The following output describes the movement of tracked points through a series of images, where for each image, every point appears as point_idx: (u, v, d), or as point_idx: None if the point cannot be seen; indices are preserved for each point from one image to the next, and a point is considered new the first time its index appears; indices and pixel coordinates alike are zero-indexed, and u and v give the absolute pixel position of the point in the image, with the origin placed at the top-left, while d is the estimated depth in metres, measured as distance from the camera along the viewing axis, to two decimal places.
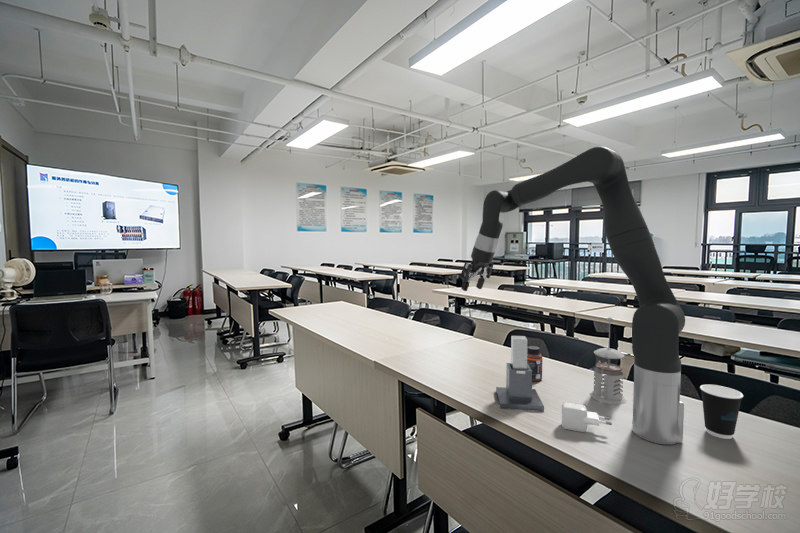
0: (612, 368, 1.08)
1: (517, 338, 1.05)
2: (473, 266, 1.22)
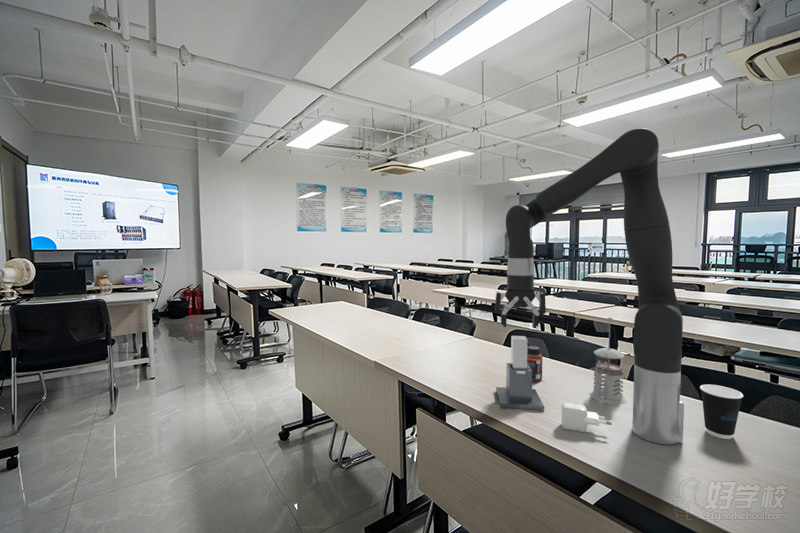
0: (612, 368, 1.08)
1: (517, 338, 1.05)
2: (506, 295, 1.05)
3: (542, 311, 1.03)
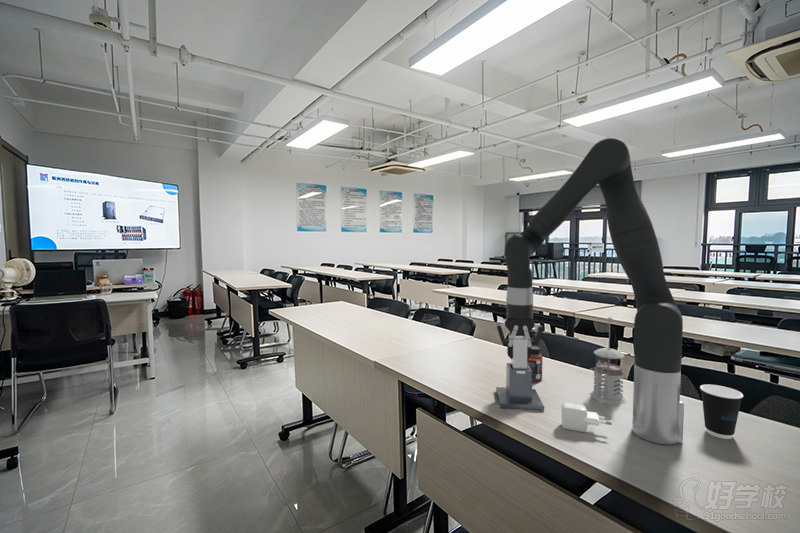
0: (612, 368, 1.08)
1: (517, 338, 1.05)
2: (506, 325, 1.05)
3: (534, 343, 1.04)
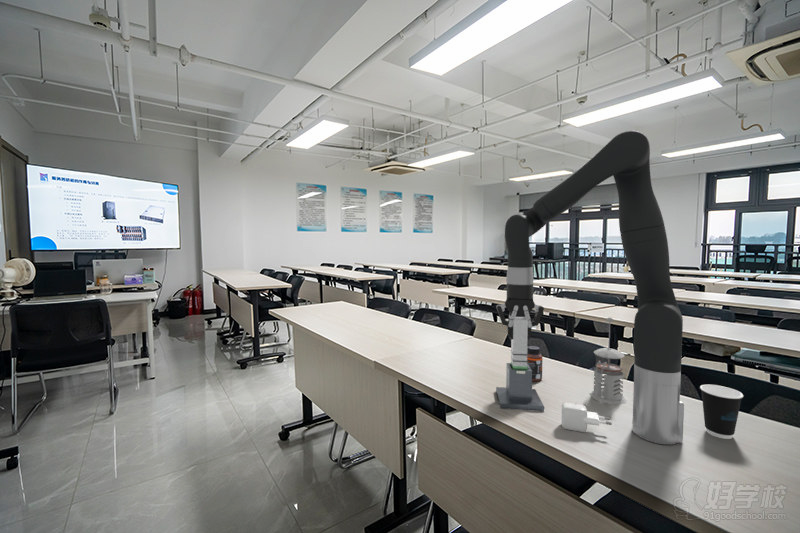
0: (612, 368, 1.08)
1: (517, 318, 1.05)
2: (506, 306, 1.05)
3: (535, 323, 1.04)
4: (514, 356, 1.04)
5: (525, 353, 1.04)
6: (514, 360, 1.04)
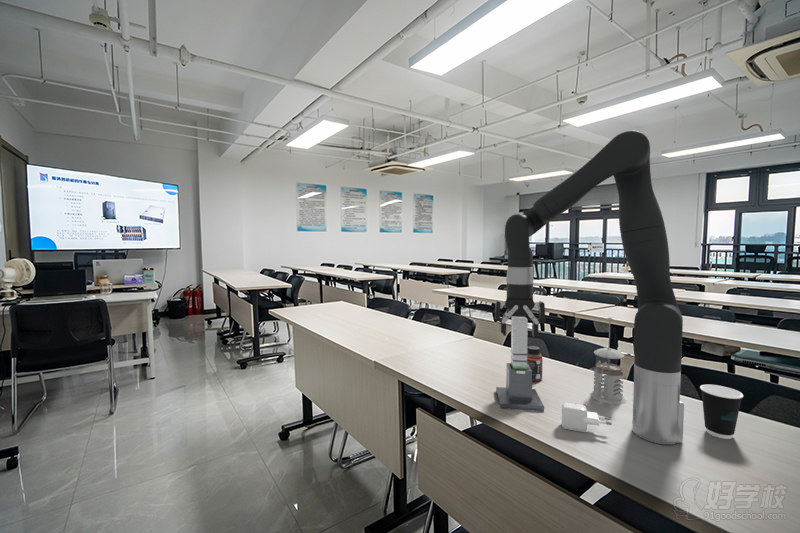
0: (612, 368, 1.08)
1: (517, 318, 1.05)
2: (505, 304, 1.05)
3: (542, 320, 1.03)
4: (514, 356, 1.04)
5: (525, 353, 1.04)
6: (514, 360, 1.04)
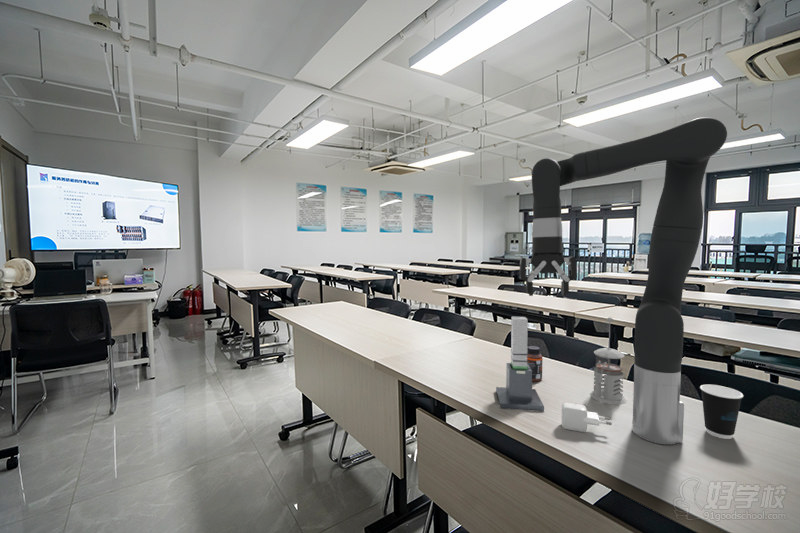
0: (612, 368, 1.08)
1: (517, 318, 1.05)
2: (531, 260, 0.95)
3: (573, 276, 0.93)
4: (514, 356, 1.04)
5: (525, 353, 1.04)
6: (514, 360, 1.04)
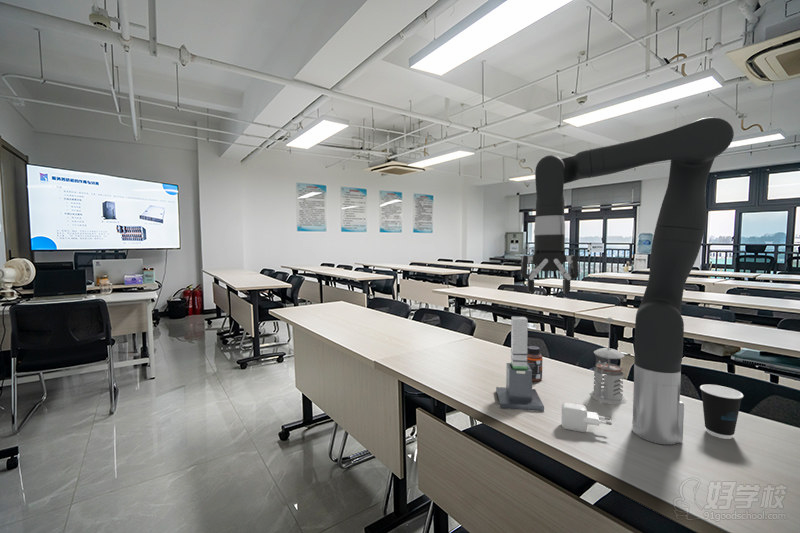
0: (612, 368, 1.08)
1: (517, 318, 1.05)
2: (533, 258, 0.94)
3: (574, 275, 0.93)
4: (514, 356, 1.04)
5: (525, 353, 1.04)
6: (514, 360, 1.04)
